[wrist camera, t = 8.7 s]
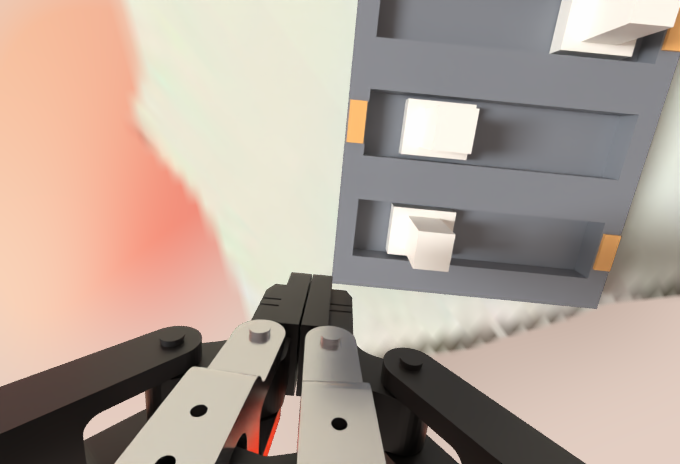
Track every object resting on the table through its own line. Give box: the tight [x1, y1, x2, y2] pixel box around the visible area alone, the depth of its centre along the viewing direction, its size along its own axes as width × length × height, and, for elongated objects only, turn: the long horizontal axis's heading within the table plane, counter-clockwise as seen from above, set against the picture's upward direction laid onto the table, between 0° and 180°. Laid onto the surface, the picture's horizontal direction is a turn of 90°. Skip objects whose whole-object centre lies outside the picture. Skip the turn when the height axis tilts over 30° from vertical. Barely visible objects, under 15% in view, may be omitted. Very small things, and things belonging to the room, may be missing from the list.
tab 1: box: [399, 98, 480, 160], centre depth 20 cm, size 4×3×5 cm
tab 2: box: [386, 203, 456, 272], centre depth 22 cm, size 4×3×5 cm
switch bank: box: [332, 0, 680, 309], centre depth 22 cm, size 18×21×3 cm
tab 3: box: [549, 0, 680, 60], centre depth 18 cm, size 4×3×5 cm
